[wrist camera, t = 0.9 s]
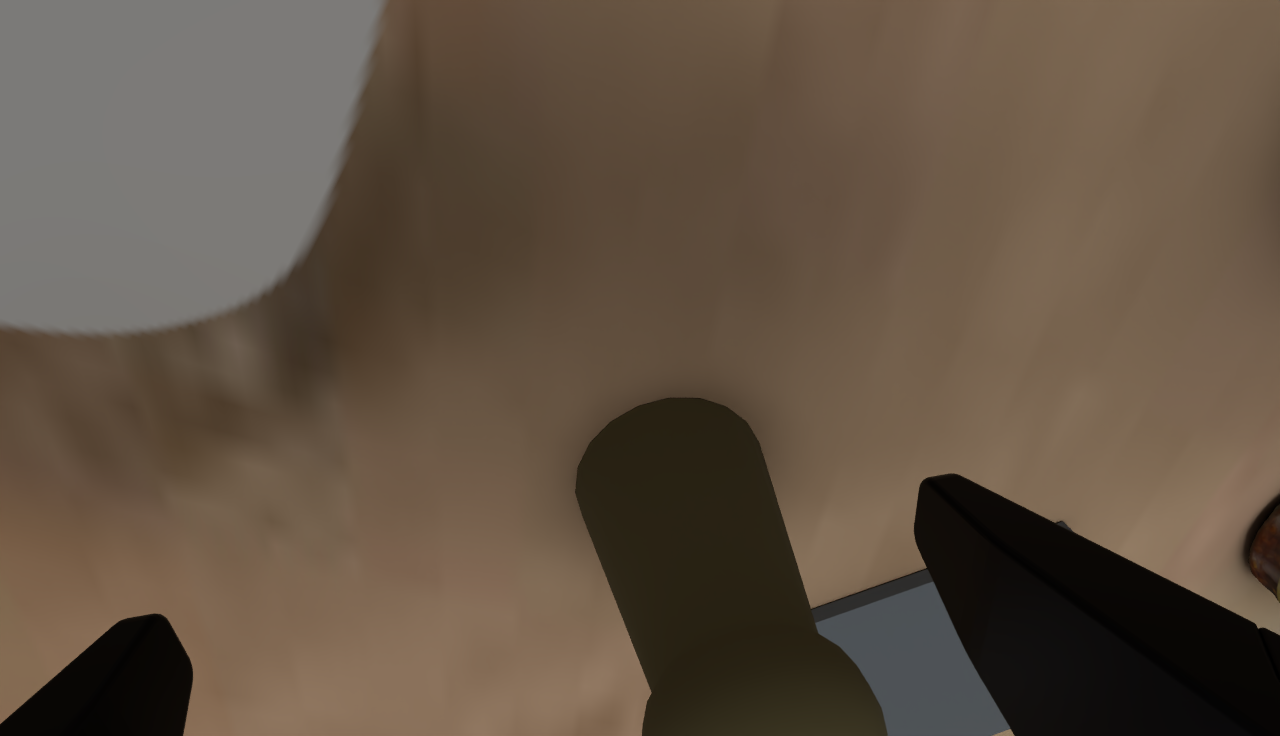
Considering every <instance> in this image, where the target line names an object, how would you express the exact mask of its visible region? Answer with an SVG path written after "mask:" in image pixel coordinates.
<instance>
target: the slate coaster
mask: <svg viewBox="0 0 1280 736" xmlns="http://www.w3.org/2000/svg"><path fill="white" fill-rule="evenodd" d="M1057 524H1058V525H1060V526H1062V527H1064V528H1066V529H1068V530H1070V531H1072V530H1071V529H1070V528H1069V527H1068V526H1067V525H1066V524H1065V523H1064V522H1063V521H1062V522H1059V523H1057ZM1072 532H1073V531H1072ZM811 611H812V614H813V618H814V621H815V624H816V627H817V630H818V634H820V635H822V636H823V637H825V638H827V639H828V640H830V641H831V642H833V643H835V644H836V645H838V646H840V647H841V649H842V650H843V651H844V652H845V653H846V654H847V655H848V656H849V657H850V658H851V659H852V661H853V662H854V663H855V664H856V665H857V666H858V668H859V669H860V671H861V673H862V674H863V676H864V677H865V679H866V681H867V682H868V684H869V685H870V687H871V689H872V691H873V693H874V695H875V696H876V698H877V700H878V702H879V704H880V706H881V708H882V711H883V716H884V720H885V724H886V729H887V733H888V736H992V735H994V734H997V733H1000V732H1003V731H1006V730H1008V729H1010V727H1009V725H1008V724H1007V722H1006V720H1005V719H1004V717H1003V715H1002V713H1001V712H1000V710H999V708H998V707H997V705H996V703H995V702H994V700H993V698H992V697H991V695H990V693H989V692H988V690H987V688H986V686H985V685H984V683H983V681H982V680H981V678H980V676H979V675H978V673H977V671H976V669H975V668H974V666H973V664H972V662H971V660H970V659H969V657H968V655H967V653H966V651H965V649H964V647H963V645H962V643H961V641H960V639H959V637H958V635H957V632H956V630H955V628H954V626H953V624H952V621H951V619H950V617H949V615H948V613H947V611H946V608H945V606H944V604H943V602H942V600H941V597H940V595H939V593H938V591H937V589H936V586H935V584H934V582H933V580H932V578H931V575H930V573H929V571H928V569H926V570H923V571H920V572H917V573H915V574H912V575H909V576H906V577H903V578H900V579H897V580H895V581H892V582H889V583H886V584H883V585H880V586H878V587H875V588H872V589H869V590H866V591H863V592H861V593H858V594H855V595H852V596H849V597H846V598H843V599H841V600H838V601H835V602H832V603H829V604H826V605H824V606H821V607H818V608H815V609H812V610H811Z"/></svg>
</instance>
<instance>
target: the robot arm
mask: <svg viewBox="0 0 1280 736" xmlns="http://www.w3.org/2000/svg"><path fill="white" fill-rule="evenodd" d="M914 535H915V540H916V544H917V547H918V549H919V551H920V553H921V556H922V558H923V560H924V562H925V564H926V567H927V569H928V571H929V573H930V575H931V578H932V580H933V582H934V584H935V586H936V589H937V591H938V593H939V595H940V597H941V600H942V602H943V604H944V606H945V608H946V611H947V613H948V615H949V617H950V619H951V621H952V624H953V626H954V628H955V630H956V632H957V635H958V637H959V639H960V641H961V643H962V645H963V647H964V649H965V651H966V653H967V655H968V657H969V659H970V660H971V662H972V664H973V666H974V668H975V669H976V671H977V673H978V675H979V676H980V678H981V680H982V681H983V683H984V685H985V686H986V688H987V690H988V692H989V693H990V695H991V697H992V698H993V700H994V702H995V703H996V705H997V707H998V708H999V710H1000V712H1001V713H1002V715H1003V717H1004V719H1005V720H1006V722H1007V724H1008V725H1009V727H1010V729H1011V730H1012V732H1013V734H1014V735H1015V736H1280V635H1278V634H1276V633H1274V632H1272V631H1270V630H1268V629H1266V628H1259V629H1258V628H1257V626H1256V624H1255V623H1253V622H1252V621H1250V620H1248V619H1246V618H1244V617H1242V616H1240V615H1238V614H1236V613H1234V612H1232V611H1230V610H1228V609H1226V608H1224V607H1222V606H1220V605H1218V604H1216V603H1214V602H1212V601H1210V600H1208V599H1206V598H1204V597H1202V596H1200V595H1198V594H1196V593H1194V592H1192V591H1190V590H1188V589H1186V588H1184V587H1182V586H1180V585H1178V584H1176V583H1174V582H1172V581H1170V580H1168V579H1166V578H1164V577H1162V576H1160V575H1158V574H1156V573H1154V572H1152V571H1150V570H1148V569H1146V568H1144V567H1142V566H1140V565H1138V564H1136V563H1134V562H1132V561H1130V560H1128V559H1126V558H1124V557H1122V556H1120V555H1118V554H1116V553H1114V552H1112V551H1110V550H1108V549H1106V548H1104V547H1102V546H1100V545H1098V544H1096V543H1094V542H1092V541H1090V540H1088V539H1086V538H1084V537H1082V536H1080V535H1078V534H1076V533H1074V532H1072V531H1070V530H1068V529H1066V528H1064V527H1062V526H1060V525H1058V524H1056V523H1054V522H1052V521H1050V520H1048V519H1046V518H1044V517H1042V516H1040V515H1038V514H1036V513H1034V512H1032V511H1030V510H1028V509H1026V508H1024V507H1022V506H1020V505H1018V504H1016V503H1014V502H1012V501H1010V500H1008V499H1006V498H1004V497H1002V496H1000V495H998V494H996V493H994V492H992V491H990V490H988V489H986V488H984V487H982V486H980V485H978V484H976V483H974V482H972V481H970V480H968V479H966V478H964V477H962V476H960V475H958V474H944V475H939V476H933V477H928V478H926V479H924V480H923V481H922V482H921V484H920V487H919V493H918V501H917V508H916V516H915V523H914ZM192 683H193V669H192V664H191V661H190V658H189V657H188V655H187V653H186V651H185V649H184V647H183V646H182V644H181V642H180V640H179V638H178V637H177V635H176V633H175V631H174V629H173V628H172V626H171V624H170V622H169V621H168V619H167V618H166V617H164V616H163V615H161V614H149V615H143V616H137V617H132V618H127V619H124V620H121V621H119V622H117V623H116V624H115V625H114V626H112V627H111V628H110V629H109V630H108V631H107V632H105V633H104V634H103V635H102V636H101V637H100V638H99V639H97V640H96V641H95V642H94V643H93V644H92V645H90V646H89V647H88V648H87V649H86V650H85V651H84V652H82V653H81V654H80V655H79V656H78V657H77V658H76V659H74V660H73V661H72V662H71V663H70V664H69V665H68V666H66V667H65V668H64V669H63V670H62V671H61V672H60V673H58V674H57V675H56V676H55V677H54V678H53V679H51V680H50V681H49V682H48V683H47V684H46V685H45V686H43V687H42V688H41V689H40V690H39V691H38V692H37V693H35V694H34V695H33V696H32V697H31V698H30V699H29V700H27V701H26V702H25V703H24V704H23V705H22V706H21V707H19V708H18V709H17V710H16V711H15V712H14V713H12V714H11V715H10V716H9V717H8V718H7V719H6V720H4V721H3V722H2V723H1V724H0V736H183V734H184V728H185V722H186V717H187V711H188V706H189V700H190V694H191V689H192Z"/></svg>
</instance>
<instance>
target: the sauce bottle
mask: <svg viewBox="0 0 1280 736" xmlns="http://www.w3.org/2000/svg"><path fill="white" fill-rule="evenodd" d="M1249 556H1250V557H1249V559H1248V563H1249V564H1250V569H1251V572H1252V574H1253V575H1254V576H1255V577H1256V578H1257V579H1258V580H1259V582H1261V583H1262V584H1263V585H1264V586H1265V587H1266V588H1267V589H1268V590H1270V591H1271V592H1272V593H1273V594H1274V595H1275V597H1276V598H1277V600H1278V601H1279V603H1280V504H1279V505H1278V506H1277V507H1276V508H1275V509H1274V511H1273V512H1272V513H1271V515H1270V516H1269V518H1268V519H1267V520H1266V521H1265V522H1264V524H1263V525H1262V527H1261V528H1260V529H1259V530H1258V532H1257V534H1256V537H1255V539H1254V541H1253V543H1252V545H1251V548H1250V554H1249Z"/></svg>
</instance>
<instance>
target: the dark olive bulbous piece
mask: <svg viewBox="0 0 1280 736" xmlns="http://www.w3.org/2000/svg"><path fill="white" fill-rule="evenodd" d="M575 493H576V497H577V500H578V503H579V507H580V510H581V513H582V516H583V519H584V521H585V524H586V526H587V529H588V532H589V534H590V537H591V539H592V542H593V544H594V547H595V549H596V552H597V554H598V557H599V560H600V562H601V565H602V567H603V570H604V572H605V575H606V577H607V580H608V582H609V585H610V588H611V590H612V593H613V595H614V598H615V600H616V603H617V605H618V608H619V610H620V613H621V616H622V618H623V621H624V623H625V626H626V628H627V631H628V633H629V636H630V638H631V641H632V644H633V646H634V649H635V651H636V654H637V656H638V659H639V661H640V664H641V666H642V669H643V672H644V674H645V677H646V679H647V682H648V684H649V687H650V689H651V692H652V693H651V695H650V697H649V699H648V701H647V705H646V710H645V716H644V721H643V728H642V736H888V733H887V729H886V724H885V720H884V716H883V711H882V708H881V706H880V704H879V702H878V700H877V698H876V696H875V695H874V693H873V691H872V689H871V687H870V685H869V684H868V682H867V681H866V679H865V677H864V676H863V674H862V673H861V671H860V669H859V668H858V666H857V665H856V664H855V663H854V662H853V661H852V659H851V658H850V657H849V656H848V655H847V654H846V653H845V652H844V651H843V650H842V649H841V647H840V646H838V645H836V644H835V643H833V642H831V641H830V640H828V639H827V638H825V637H823V636H822V635H820V634H818V630H817V627H816V624H815V621H814V618H813V614H812V611H811V608H810V605H809V601H808V598H807V595H806V592H805V589H804V585H803V582H802V579H801V576H800V572H799V569H798V566H797V563H796V560H795V556H794V553H793V550H792V547H791V543H790V540H789V537H788V534H787V531H786V527H785V524H784V521H783V518H782V514H781V511H780V508H779V505H778V502H777V498H776V495H775V492H774V489H773V485H772V482H771V479H770V476H769V473H768V469H767V466H766V463H765V460H764V456H763V453H762V450H761V447H760V444H759V442H758V440H757V438H756V437H755V435H754V433H753V431H752V430H751V428H750V426H749V425H748V423H747V422H746V421H745V420H743V419H742V418H741V417H739V416H738V415H737V414H735V413H734V412H733V411H731V410H730V409H729V408H727V407H725V406H722V405H719V404H716V403H713V402H710V401H706V400H703V399H700V398H668V399H664V400H660V401H656V402H652V403H648V404H645V405H641V406H638V407H636V408H634V409H633V410H631V411H629V412H627V413H626V414H624V415H622V416H620V417H619V418H617V419H615V420H613V421H612V422H610V423H609V424H608V425H607V426H606V427H605V428H604V429H603V430H602V431H601V432H600V434H599V435H598V436H597V437H596V438H595V439H594V440H593V441H592V442H591V443H590V444H589V446H588V448H587V450H586V452H585V454H584V456H583V458H582V460H581V462H580V464H579V466H578V470H577V480H576V489H575Z"/></svg>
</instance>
